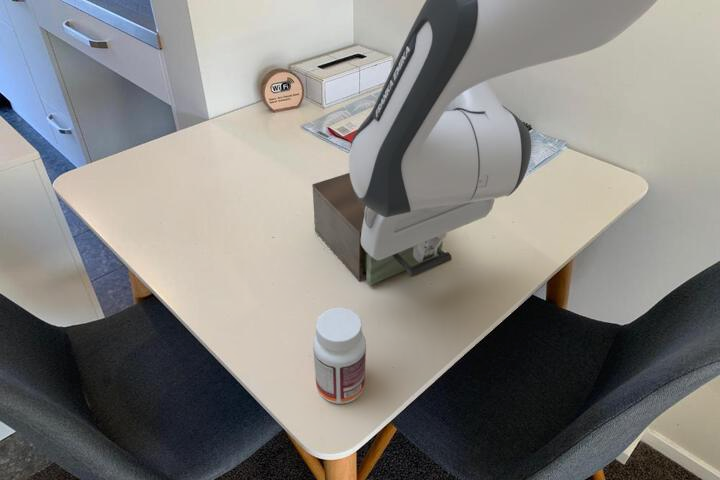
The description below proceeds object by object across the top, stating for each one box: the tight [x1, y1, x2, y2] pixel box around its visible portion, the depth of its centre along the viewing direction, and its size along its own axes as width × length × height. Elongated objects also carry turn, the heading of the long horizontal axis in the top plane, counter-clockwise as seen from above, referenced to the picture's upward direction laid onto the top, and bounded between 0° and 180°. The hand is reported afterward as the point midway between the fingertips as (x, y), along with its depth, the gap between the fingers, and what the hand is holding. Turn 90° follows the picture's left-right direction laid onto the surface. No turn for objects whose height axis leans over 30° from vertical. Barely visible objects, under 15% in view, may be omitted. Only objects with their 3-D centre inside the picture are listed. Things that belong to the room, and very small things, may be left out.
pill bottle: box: [312, 306, 367, 405], centre depth 62 cm, size 6×6×11 cm
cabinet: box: [311, 172, 367, 282], centre depth 85 cm, size 15×15×10 cm
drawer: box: [364, 240, 453, 285], centre depth 81 cm, size 19×13×8 cm
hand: (424, 256), depth 75 cm, fingers closed, pressing on drawer
